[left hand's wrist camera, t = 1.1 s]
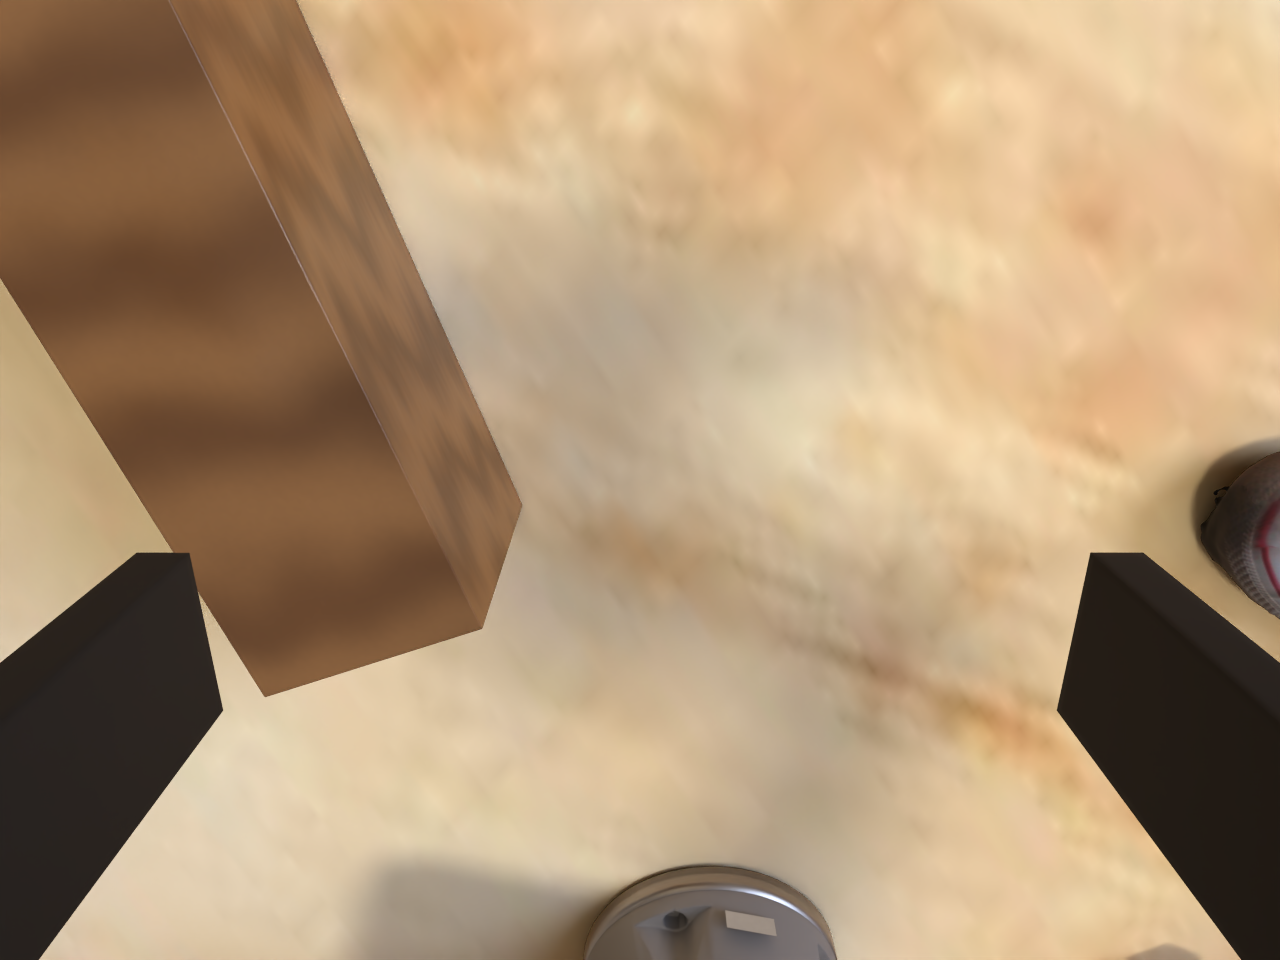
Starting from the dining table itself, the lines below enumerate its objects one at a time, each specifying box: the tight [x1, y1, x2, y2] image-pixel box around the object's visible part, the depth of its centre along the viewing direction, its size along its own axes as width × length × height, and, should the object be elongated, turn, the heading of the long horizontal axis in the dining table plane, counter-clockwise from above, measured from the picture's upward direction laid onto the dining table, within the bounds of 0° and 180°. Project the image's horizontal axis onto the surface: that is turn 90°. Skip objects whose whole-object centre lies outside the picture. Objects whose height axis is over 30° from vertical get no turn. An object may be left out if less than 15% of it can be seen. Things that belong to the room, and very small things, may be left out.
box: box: [0, 0, 522, 697], centre depth 31 cm, size 30×9×11 cm, turn 20°
